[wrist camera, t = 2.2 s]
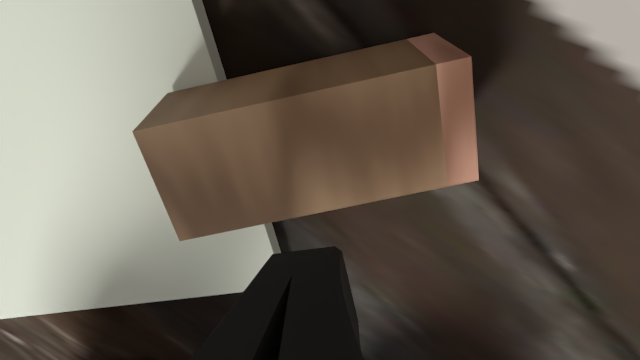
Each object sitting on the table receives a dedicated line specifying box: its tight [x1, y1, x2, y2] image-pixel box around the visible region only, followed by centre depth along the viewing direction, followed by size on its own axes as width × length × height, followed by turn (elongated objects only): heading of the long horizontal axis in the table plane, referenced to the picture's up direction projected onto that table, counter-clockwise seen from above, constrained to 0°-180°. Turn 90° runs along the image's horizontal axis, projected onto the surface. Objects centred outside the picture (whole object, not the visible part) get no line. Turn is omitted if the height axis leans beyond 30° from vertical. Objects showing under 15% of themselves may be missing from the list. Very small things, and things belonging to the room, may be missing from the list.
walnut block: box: [132, 33, 479, 241], centre depth 16 cm, size 4×4×10 cm
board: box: [0, 0, 281, 319], centre depth 20 cm, size 16×20×1 cm
